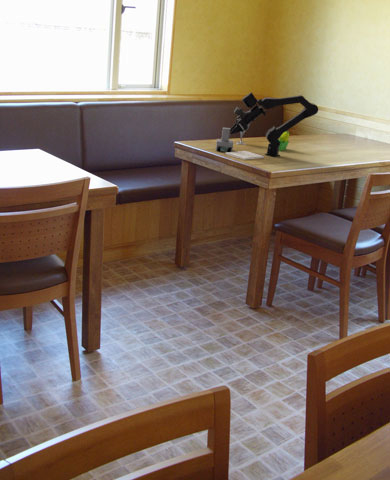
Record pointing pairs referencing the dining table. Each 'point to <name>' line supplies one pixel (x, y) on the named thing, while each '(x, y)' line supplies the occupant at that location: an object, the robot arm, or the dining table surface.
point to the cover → (225, 140)
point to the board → (244, 155)
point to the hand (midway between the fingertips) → (230, 132)
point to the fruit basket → (284, 141)
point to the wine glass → (241, 138)
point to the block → (224, 149)
